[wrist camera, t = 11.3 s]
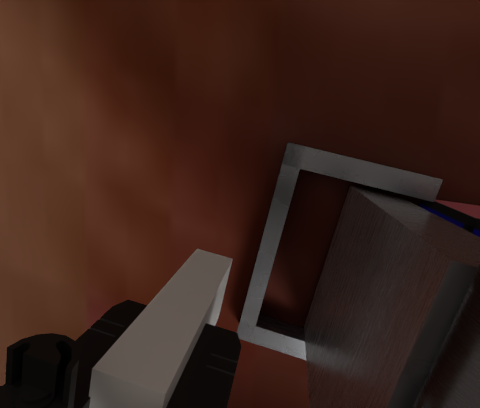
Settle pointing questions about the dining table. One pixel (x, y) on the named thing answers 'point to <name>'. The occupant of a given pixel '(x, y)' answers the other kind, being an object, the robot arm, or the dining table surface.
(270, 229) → the frame
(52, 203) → the dining table surface
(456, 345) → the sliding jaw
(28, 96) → the dining table surface
